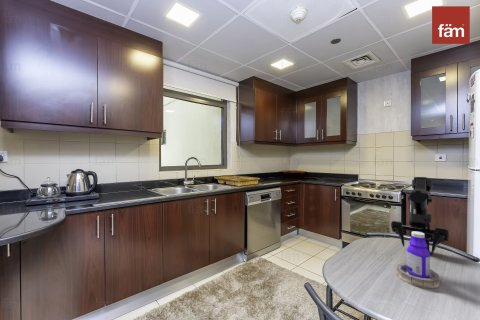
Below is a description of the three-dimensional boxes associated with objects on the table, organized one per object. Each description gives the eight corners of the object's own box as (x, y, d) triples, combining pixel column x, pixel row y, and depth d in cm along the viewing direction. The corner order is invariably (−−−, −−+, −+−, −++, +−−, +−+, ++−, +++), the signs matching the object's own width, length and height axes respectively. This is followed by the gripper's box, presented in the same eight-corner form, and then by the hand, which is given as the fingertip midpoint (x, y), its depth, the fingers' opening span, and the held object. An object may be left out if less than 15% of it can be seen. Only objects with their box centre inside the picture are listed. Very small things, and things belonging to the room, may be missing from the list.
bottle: (433, 280, 84) (433, 235, 84) (421, 282, 83) (421, 236, 82) (414, 270, 91) (414, 229, 91) (403, 272, 90) (403, 230, 89)
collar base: (390, 269, 94) (390, 262, 94) (424, 271, 92) (424, 264, 92) (409, 287, 81) (409, 279, 81) (448, 289, 79) (448, 281, 79)
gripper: (391, 203, 99) (387, 234, 91) (448, 208, 86) (449, 245, 79) (394, 216, 105) (390, 246, 97) (447, 223, 92) (448, 259, 85)
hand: (417, 249), depth 89 cm, fingers open, 9 cm apart
